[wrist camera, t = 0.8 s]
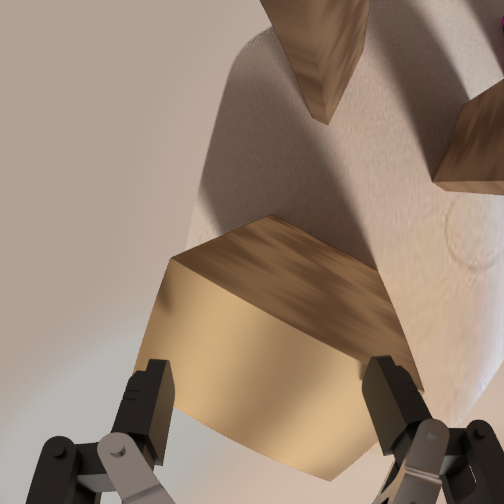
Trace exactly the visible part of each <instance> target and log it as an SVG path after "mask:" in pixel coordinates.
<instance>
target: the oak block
mask: <svg viewBox="0 0 504 504" xmlns="http://www.w3.org/2000/svg"><path fill="white" fill-rule="evenodd" d="M381 355H390V356H391V357H392V359H393V361H394V362H395V364H396V366H398V365H401V366H402V367H403V368H404V369H406V370H407V371H408V372H409V373H410V375H411V377H412V379H413V381H414V384H415V385H416V386H417V388H418V391H419V392H420V394H421V396H422V395H423V394H424V389H423V385H422V382H421V379H420V376H419V373H418V371H417V368H416V365H415V362H414V359H413V356H412V353H411V351H410V348H409V345H408V343H407V340H406V337H405V335H404V332H403V329H402V327H401V324H400V322H399V319H398V317H397V314H396V312H395V309H394V307H393V305H392V302H391V300H390V297H389V295H388V293H387V290H386V288H385V286H384V283H383V281H382V279H381V277H380V274H379V272H378V271H376V270H374V269H372V268H370V267H369V266H367V265H365V264H363V263H361V262H360V261H358V260H356V259H354V258H352V257H351V256H349V255H347V254H345V253H343V252H341V251H340V250H338V249H336V248H334V247H332V246H330V245H328V244H327V243H325V242H323V241H321V240H319V239H317V238H315V237H313V236H312V235H310V234H308V233H306V232H304V231H302V230H300V229H298V228H296V227H294V226H293V225H291V224H289V223H287V222H285V221H283V220H281V219H279V218H277V217H275V216H273V215H269V216H267V217H264V218H262V219H260V220H257V221H255V222H252V223H250V224H248V225H245V226H243V227H241V228H238V229H236V230H233V231H231V232H229V233H226V234H224V235H222V236H219V237H217V238H215V239H212V240H210V241H208V242H205V243H203V244H201V245H199V246H196V247H194V248H192V249H189V250H187V251H185V252H183V253H180V254H178V255H176V256H173V257H171V258H170V260H169V263H168V266H167V269H166V271H165V274H164V277H163V280H162V283H161V286H160V289H159V292H158V294H157V297H156V301H155V303H154V306H153V309H152V313H151V315H150V319H149V322H148V325H147V328H146V331H145V334H144V338H143V341H142V344H141V347H140V351H139V354H138V358H137V361H136V364H135V367H134V371H133V374H134V373H135V372H136V371H137V370H140V371H146V367H147V364H148V361H149V359H164V360H169V361H170V365H171V370H172V375H173V379H174V384H175V400H174V405H173V406H174V407H175V408H177V409H179V410H180V411H182V412H183V413H185V414H187V415H188V416H190V417H192V418H194V419H195V420H197V421H199V422H201V423H202V424H204V425H206V426H208V427H210V428H211V429H213V430H215V431H217V432H218V433H220V434H222V435H224V436H226V437H228V438H230V439H232V440H234V441H236V442H238V443H240V444H242V445H244V446H246V447H248V448H250V449H252V450H254V451H256V452H258V453H260V454H263V455H265V456H267V457H269V458H271V459H274V460H276V461H278V462H281V463H283V464H285V465H288V466H290V467H293V468H295V469H298V470H300V471H303V472H305V473H308V474H311V475H313V476H316V477H318V478H322V479H324V480H327V481H332V480H333V479H334V478H336V477H337V476H338V475H339V474H341V473H342V472H343V471H344V470H346V469H347V468H348V467H349V466H350V465H351V464H353V463H354V462H355V461H356V460H357V459H359V458H360V457H361V456H362V455H363V454H364V453H365V452H367V451H368V450H369V449H370V448H371V447H372V446H373V445H374V444H375V443H376V442H377V441H379V440H378V437H377V434H376V431H375V428H374V425H373V423H372V420H371V417H370V414H369V411H368V408H367V406H366V403H365V400H364V397H363V394H362V381H363V378H364V375H365V372H366V370H367V367H368V364H369V361H370V359H371V357H372V356H381ZM133 374H132V375H133Z"/></svg>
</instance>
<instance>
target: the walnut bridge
mask: <svg viewBox="0 0 504 504" xmlns="http://www.w3.org/2000/svg"><path fill="white" fill-rule="evenodd" d="M260 2H261V4H262V6H263V7H264V9H265V11H266V14H267V15H268V18H269V19H270V22H271V23H272V26H273V28H274V30H275V32H276V34H277V36H278V38H279V40H280V42H281V45H282V47H283V49H284V51H285V53H286V56H287V58H288V60H289V62H290V65H291V67H292V69H293V71H294V74H295V76H296V78H297V81H298V83H299V86H300V88H301V90H302V93H303V95H304V98H305V100H306V103H307V105H308V108H309V110H310V113H311V116H312V118H313V119H316V120H318V121H320V122H322V123H324V124H327V125H329V123H330V120H331V118H332V116H333V114H334V112H335V110H336V108H337V106H338V104H339V101H340V99H341V97H342V95H343V93H344V91H345V89H346V87H347V84H348V82H349V80H350V78H351V76H352V74H353V72H354V69H355V67H356V65H357V63H358V61H359V59H360V56H361V54H362V52H363V49H364V42H365V35H366V27H367V19H368V11H369V2H370V0H260ZM433 183H434V184H436V185H437V186H439V187H440V188H442V189H443V190H445V191H454V192H469V193H482V194H494V195H504V79H503V80H501V81H500V82H498V83H497V84H495V85H494V86H492V87H490V88H489V89H487V90H486V91H484V92H483V93H481V94H480V95H478V96H477V97H475V98H473V99H472V100H470V101H469V102H467V103H466V104H464V105H463V107H462V110H461V113H460V115H459V118H458V121H457V124H456V126H455V129H454V132H453V134H452V137H451V139H450V142H449V144H448V147H447V149H446V152H445V154H444V156H443V159H442V161H441V164H440V166H439V168H438V170H437V173H436V175H435V177H434V179H433Z"/></svg>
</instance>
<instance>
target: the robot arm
mask: <svg viewBox="0 0 504 504" xmlns="http://www.w3.org/2000/svg"><path fill="white" fill-rule="evenodd" d="M362 394H363V397H364V400H365V403H366V406H367V408H368V411H369V414H370V417H371V420H372V423H373V425H374V428H375V431H376V434H377V437H378V440H379V443H380V446H381V449H382V452H383V455H384V456H387V455H391V454H393V455H394V457H395V460H394V461H393V463H392V465H391V468H390V470H389V472H388V474H387V476H386V478H385V480H384V483H383V485H382V487H381V489H380V491H379V493H378V495H377V497H376V498H375V500H374V501H373V503H372V504H436V501H437V498H438V495H439V492H440V489H441V486H442V489H443V492H444V495H445V498H446V502H447V504H504V452H503V449H502V447H501V445H500V443H499V441H498V439H497V437H496V435H495V433H494V431H493V429H492V427H491V426H490V424H488V423H487V422H486V421H483V420H474V421H472V422H470V424H469V425H468V426H467V427H466V428H448V427H447V426H446V425H445V424H444V423H443V422H442V421H440V420H437V419H433V418H432V416H431V414H430V412H429V410H428V408H427V406H426V404H425V402H424V400H423V398H422V396H421V394H420V392H419V391H418V388H417V386H416V385H415V384H414V381H413V379H412V377H411V375H410V373H409V372H408V371H407V370H406V369H404V368H403V367H402V366H401V365H398V366H396V364H395V362H394V361H393V359H392V357H391V356H390V355H381V356H372V357H371V359H370V361H369V364H368V367H367V370H366V372H365V375H364V378H363V381H362ZM174 400H175V384H174V379H173V375H172V370H171V365H170V361H169V360H164V359H149V361H148V364H147V367H146V371H140V370H137V371H136V372H135V373H134V374H133V375H132V376H131V377H130V379H129V381H128V383H127V386H126V390H125V392H124V395H123V400H122V401H121V404H120V407H119V409H118V413H117V416H116V419H115V422H114V425H113V428H112V430H111V432H110V434H108V435H106V436H104V437H103V438H102V439H101V440H100V441H99V442H96V443H87V444H74V443H73V442H72V441H71V440H70V439H69V438H67V437H63V436H55V437H52V438H50V439H49V440H47V441H46V443H45V444H44V446H43V449H42V451H41V454H40V457H39V460H38V464H37V466H36V469H35V473H34V476H33V479H32V483H31V486H30V489H29V493H28V497H27V500H26V504H100V500H101V494H102V492H111V491H117V492H118V494H119V496H120V498H121V500H122V504H175V502H174V501H173V500H172V498H171V497H170V495H169V494H168V493H167V491H166V490H165V489H164V487H163V486H162V485H161V483H160V482H159V481H158V479H157V478H156V476H155V475H154V473H153V470H154V465H160V466H163V461H164V455H165V449H166V444H167V438H168V432H169V427H170V421H171V416H172V411H173V405H174ZM469 465H470V466H471V468H470V466H469ZM471 469H472V471H471ZM472 472H473V474H474V476H473V474H472ZM474 477H475V479H476V482H475V479H474Z"/></svg>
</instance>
